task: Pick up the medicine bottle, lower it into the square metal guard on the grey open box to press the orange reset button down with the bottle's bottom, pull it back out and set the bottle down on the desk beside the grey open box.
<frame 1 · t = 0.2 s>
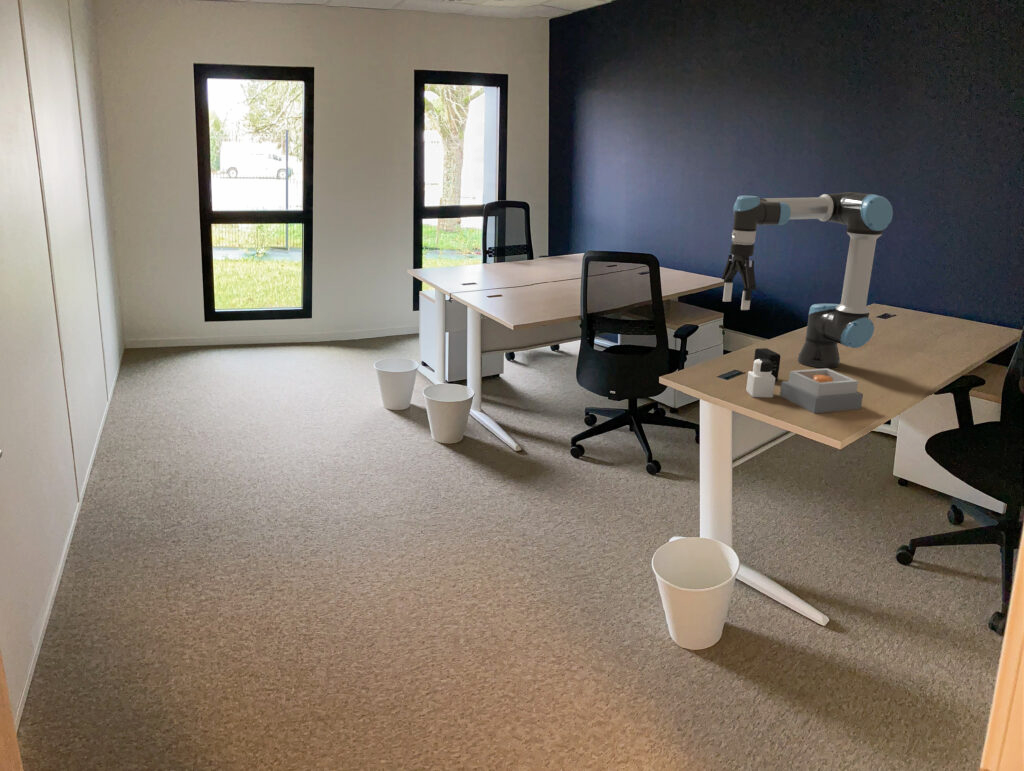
hand: (735, 305, 286), 27 cm above the table, tool pointing down, fingers open, 13 cm apart
grey open box: (819, 402, 275), on the table
medicine bottle: (759, 394, 281), on the table
electronic device: (764, 378, 300), on the table
reset button: (822, 385, 273), point 6 cm above the table, slide at 0.0 cm
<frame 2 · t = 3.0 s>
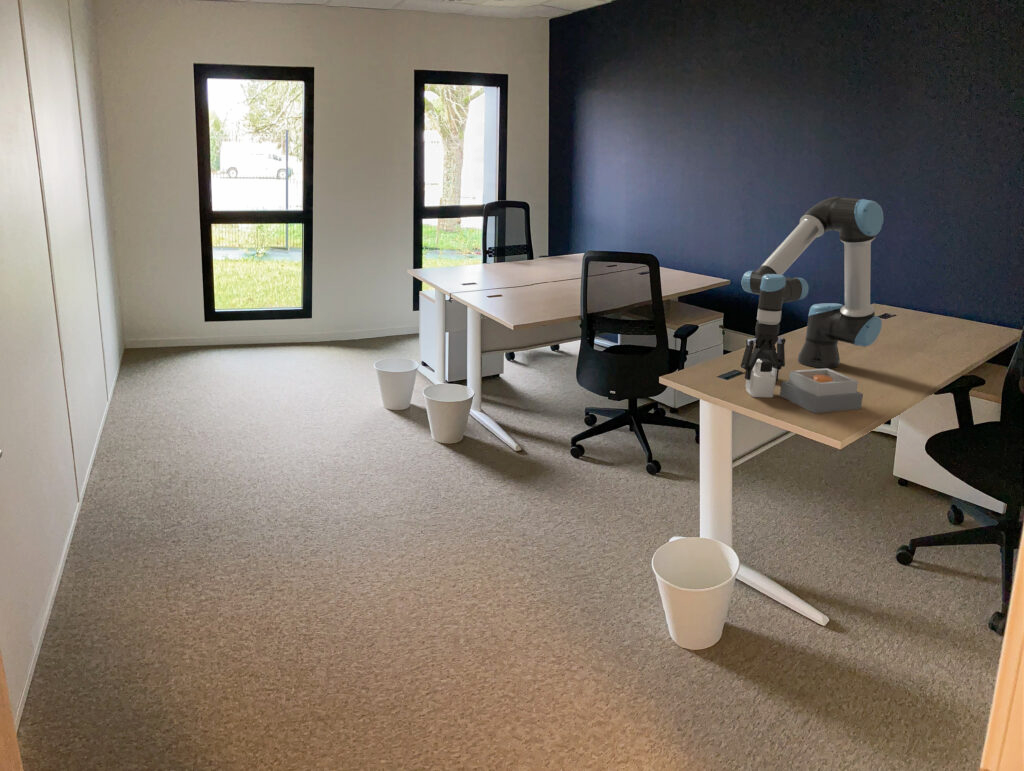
hand: (760, 387, 281), 2 cm above the table, tool pointing down, fingers closed on medicine bottle, 8 cm apart
medicine bottle: (759, 394, 281), on the table, touching gripper
everything else where it was.
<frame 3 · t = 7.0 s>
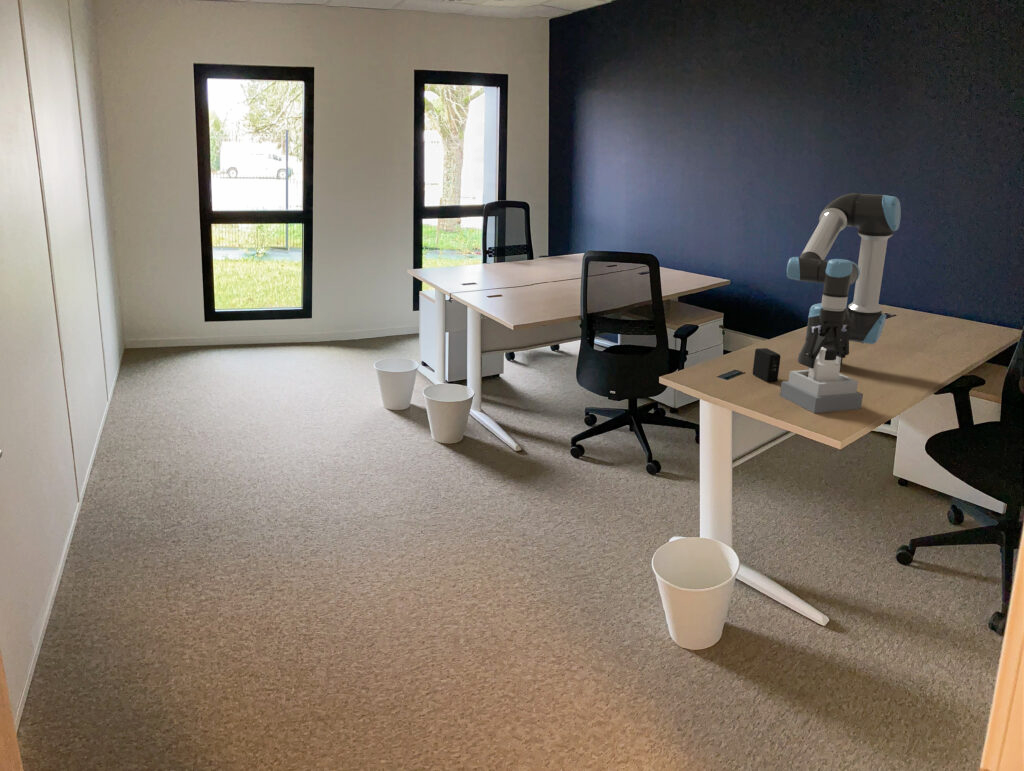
hand: (823, 376, 272), 9 cm above the table, tool pointing down, fingers closed on medicine bottle, 8 cm apart
medicine bottle: (822, 384, 273), point 6 cm above the table, touching gripper, reset button
reset button: (821, 391, 274), point 4 cm above the table, slide at 2.1 cm, touching medicine bottle
everything else where it was.
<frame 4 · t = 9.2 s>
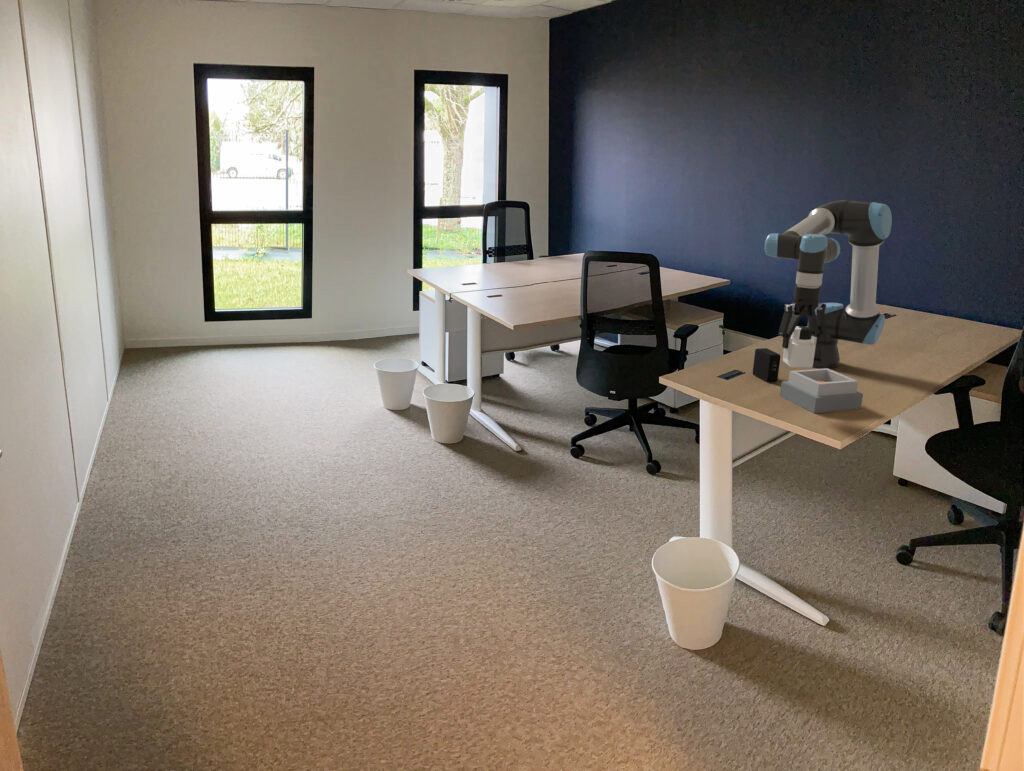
hand: (798, 357, 262), 17 cm above the table, tool pointing down, fingers closed on medicine bottle, 8 cm apart
medicine bottle: (797, 365, 263), point 15 cm above the table, touching gripper
reset button: (821, 391, 274), point 4 cm above the table, slide at 2.1 cm
everything else where it was.
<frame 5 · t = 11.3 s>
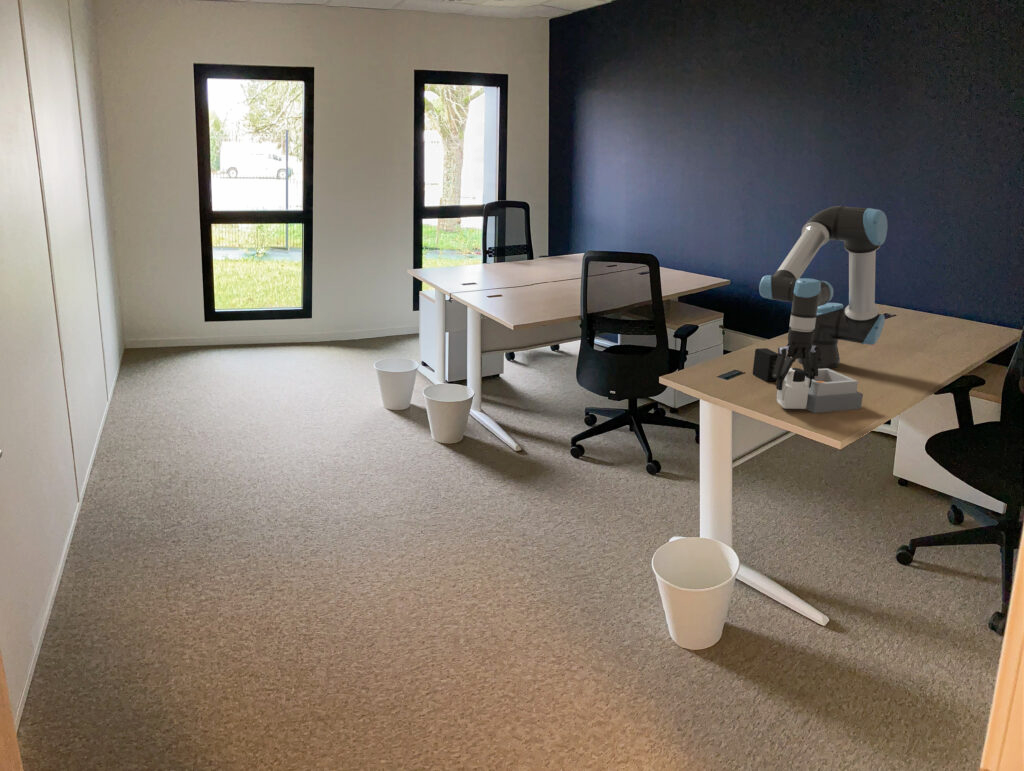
hand: (791, 398, 266), 4 cm above the table, tool pointing down, fingers closed on medicine bottle, 8 cm apart
medicine bottle: (791, 406, 267), point 1 cm above the table, touching gripper
everything else where it was.
when the fingers open (4 cm above the table, at t = 11.7 s): medicine bottle drops 1 cm, on the table.
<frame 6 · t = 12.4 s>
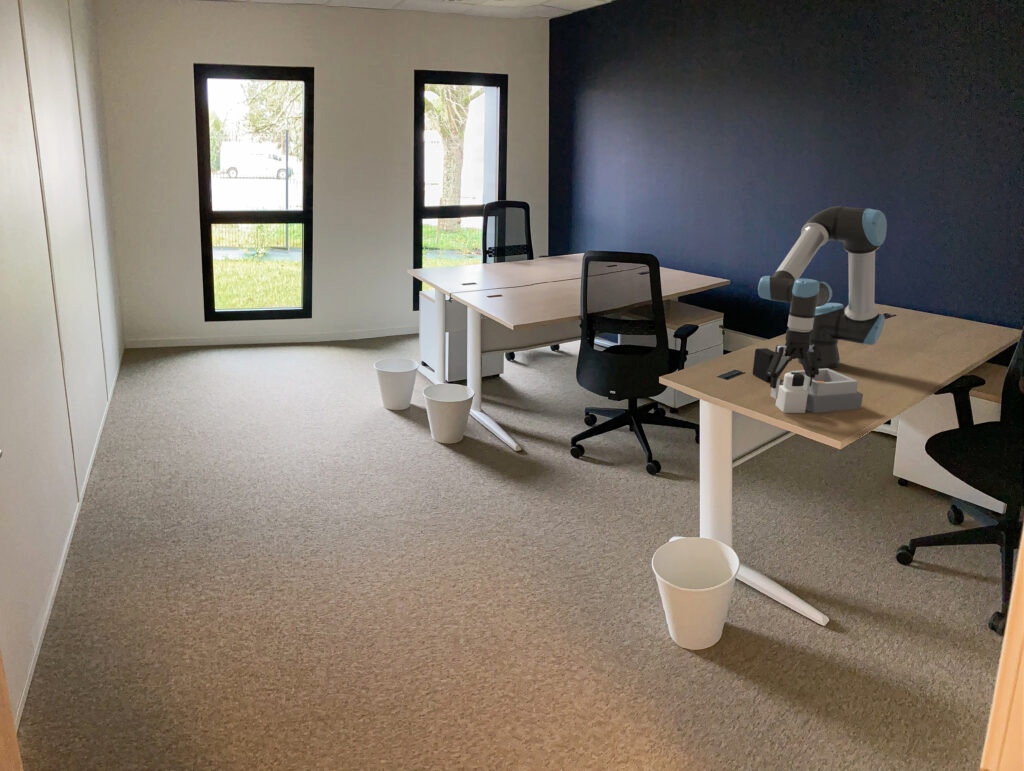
hand: (788, 396, 266), 4 cm above the table, tool pointing down, fingers open, 11 cm apart
medicine bottle: (789, 410, 267), on the table
everything else where it was.
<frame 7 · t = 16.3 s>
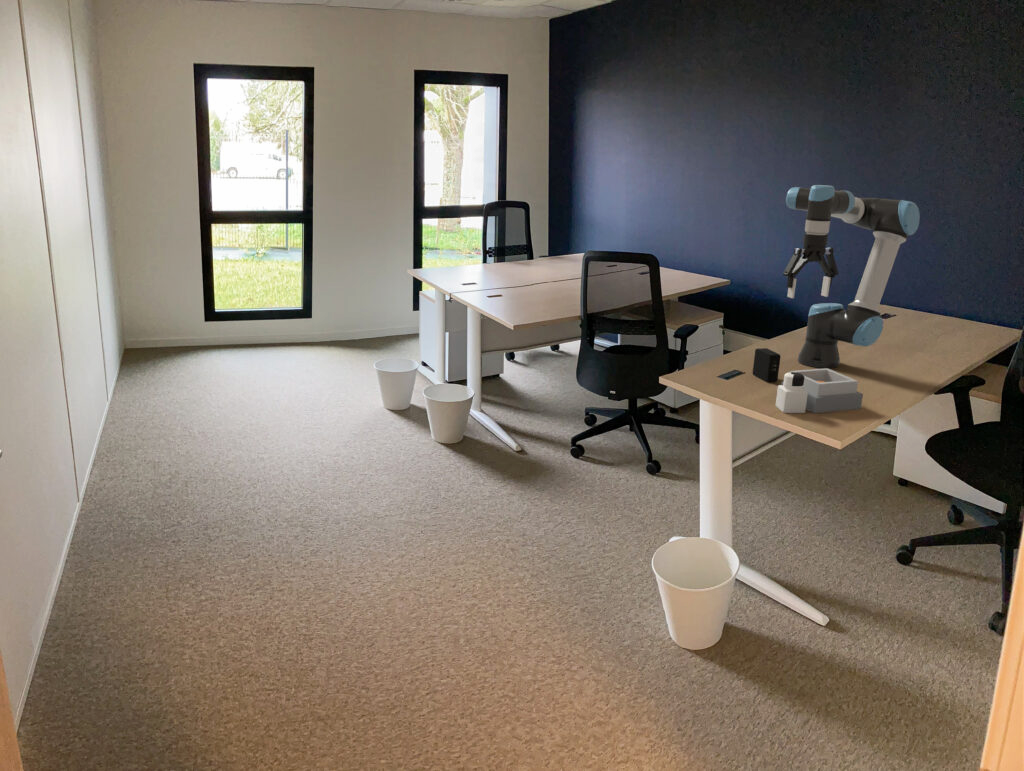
hand: (807, 296, 282), 32 cm above the table, tool pointing down, fingers open, 13 cm apart
nothing on the table moved.
at the end: reset button slide at 2.1 cm; medicine bottle inside the target area (0.5 cm from its centre), on the table; medicine bottle tilted 0° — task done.
